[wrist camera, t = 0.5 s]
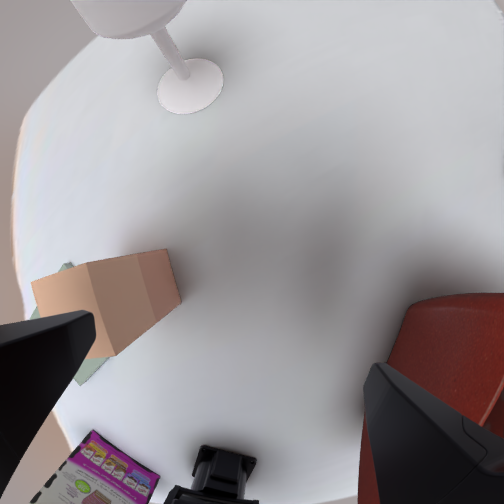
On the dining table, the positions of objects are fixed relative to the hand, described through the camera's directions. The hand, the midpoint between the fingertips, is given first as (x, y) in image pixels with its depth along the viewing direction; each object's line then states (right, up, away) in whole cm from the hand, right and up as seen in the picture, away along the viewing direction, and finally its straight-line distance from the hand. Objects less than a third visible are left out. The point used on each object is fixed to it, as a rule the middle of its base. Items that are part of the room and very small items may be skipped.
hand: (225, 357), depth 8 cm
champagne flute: (-5, +19, +15) cm, 25 cm away
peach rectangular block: (-9, 0, +17) cm, 19 cm away
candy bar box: (-17, -25, +19) cm, 36 cm away
